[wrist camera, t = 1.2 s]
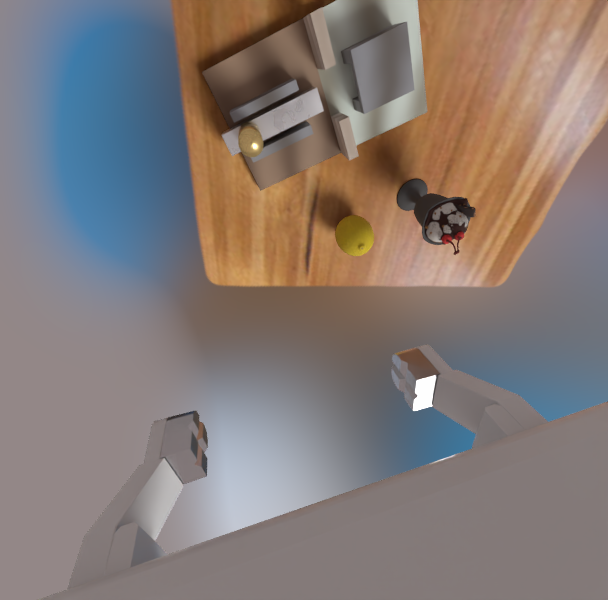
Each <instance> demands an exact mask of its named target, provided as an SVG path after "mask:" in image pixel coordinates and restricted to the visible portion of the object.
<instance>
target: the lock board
mask: <svg viewBox="0 0 608 600" xmlns="http://www.w3.org/2000/svg"><path fill="white" fill-rule="evenodd" d="M202 73H203V75H204V77H205V80H206V82H207V84H208V86H209V88H210V90H211V92H212V94H213V96H214V98H215V100H216V102H217V104H218V106H219V108H220V110H221V112H222V114H223V116H224V118H225V120H226V122H227V124H228V126H229V128H232V127H234V126H236V125H238V124H240V123H242V122H244V121H246V120H248V119H250V118H252V117H254V116H256V115H258V114H260V113H262V112H264V111H266V110H268V109H270V108H272V107H274V106H276V105H278V104H280V103H282V102H284V101H286V100H288V99H290V98H292V97H294V96H296V95H298V94H300V93H302V92H304V91H306V90H308V89H310V88H312V87H317V89H318V93H319V96H320V100H321V103H322V106H323V110H324V111H323V112H321V113H319V114H317V115H315V116H313V117H310V118H308V119H306V120H304V121H302V122H300V123H298V124H296V125H294V126H292V127H290V128H288V129H286V130H284V131H282V132H280V133H278V134H276V135H274V136H272V137H270V138H268V139H266V140H264V141H263V150H262V152H261V153H260V154H259V155H258V156H256V157H248V156H246V155H244V154H243V153H242V154H243V156H244V158H245V160H246V162H247V164H248V166H249V168H250V170H251V172H252V174H253V176H254V178H255V180H256V182H257V184H258V186H259V188H260V190H263V189H265V188H267V187H269V186H271V185H273V184H276V183H278V182H280V181H282V180H284V179H286V178H288V177H290V176H293V175H295V174H297V173H299V172H301V171H303V170H305V169H307V168H310V167H312V166H314V165H316V164H318V163H320V162H322V161H324V160H326V159H329V158H331V157H333V156H335V155H337V154H339V153H342V154H343V155H344V156H345V157H346V158H348V159H349V160H351V159H354V158H356V157H358V156H359V155H358V151H357V147H356V145H358V144H360V143H363V142H365V141H367V140H369V139H371V138H373V137H375V136H377V135H380V134H382V133H384V132H386V131H388V130H390V129H392V128H394V127H397V126H399V125H401V124H403V123H405V122H407V121H409V120H411V119H414V118H416V117H418V116H420V115H422V114H424V113H426V112H427V103H426V92H425V81H424V70H423V58H422V47H421V36H420V25H419V13H418V2H417V0H336V1H334V2H332V3H330V4H329V5H327V6H325V7H323V8H322V7H321V8H319V9H317V10H316V11H314V12H312V13H310V14H308V15H307V16H305V17H304V18H302V19H300V20H299V21H297V22H295V23H293V24H291V25H289V26H287V27H285V28H284V29H282V30H280V31H278V32H276V33H274V34H272V35H270V36H269V37H267V38H265V39H263V40H261V41H259V42H257V43H255V44H254V45H252V46H250V47H248V48H246V49H244V50H242V51H240V52H239V53H237V54H235V55H233V56H231V57H229V58H227V59H225V60H224V61H222V62H220V63H218V64H216V65H214V66H212V67H210V68H209V69H207V70H205V71H203V72H202Z"/></svg>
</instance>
